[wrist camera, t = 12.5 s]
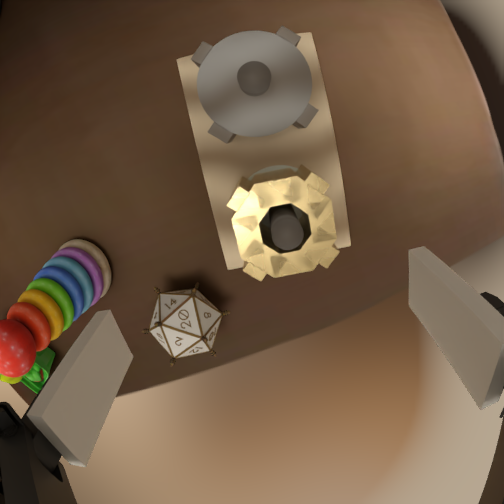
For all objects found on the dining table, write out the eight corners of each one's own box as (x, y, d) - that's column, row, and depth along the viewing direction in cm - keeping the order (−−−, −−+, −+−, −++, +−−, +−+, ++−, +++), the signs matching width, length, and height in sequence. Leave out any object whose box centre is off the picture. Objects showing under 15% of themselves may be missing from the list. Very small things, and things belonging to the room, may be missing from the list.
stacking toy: (49, 252, 35) (-48, 330, 18) (92, 226, 34) (-15, 306, 16) (80, 304, 38) (3, 401, 20) (125, 284, 36) (48, 392, 19)
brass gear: (248, 257, 33) (246, 284, 28) (229, 178, 30) (223, 189, 25) (327, 242, 32) (341, 265, 27) (314, 161, 30) (327, 169, 24)
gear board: (180, 62, 28) (153, 39, 19) (308, 36, 26) (326, 5, 18) (229, 264, 35) (220, 306, 27) (347, 241, 34) (374, 276, 26)
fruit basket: (3, 337, 41) (-32, 376, 30) (10, 303, 38) (-33, 343, 28) (54, 377, 43) (24, 423, 33) (65, 347, 41) (30, 397, 30)
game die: (182, 282, 40) (125, 275, 31) (243, 284, 37) (192, 277, 28) (180, 353, 39) (123, 362, 30) (240, 362, 35) (190, 378, 26)
